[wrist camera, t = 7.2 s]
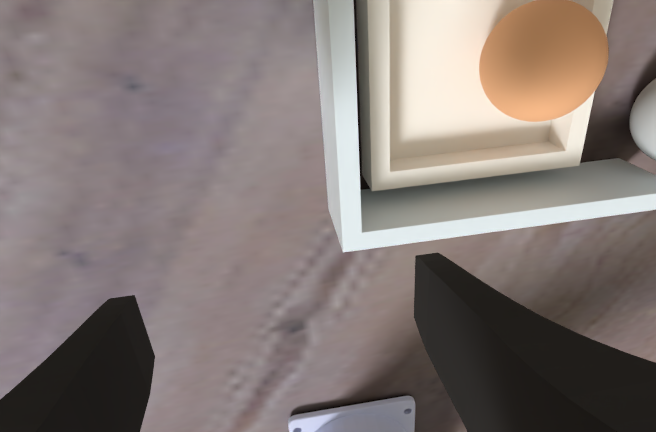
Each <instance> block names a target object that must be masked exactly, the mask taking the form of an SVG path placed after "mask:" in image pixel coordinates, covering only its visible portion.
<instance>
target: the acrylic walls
mask: <svg viewBox="0 0 656 432" xmlns="http://www.w3.org/2000/svg"><path fill="white" fill-rule="evenodd" d="M313 6H314V19H315V33H316V46H317V60H318V73H319V87H320V100H321V114H322V127H323V141H324V154H325V168H326V181H327V195H328V208H329V212H330V215H331V218H332V221H333V224H334V227H335V230H336V233H337V236H338V239H339V242H340V245H341V247H342V250H343V252H350V251H357V250H364V249H372V248H379V247H386V246H393V245H401V244H408V243H415V242H423V241H430V240H437V239H445V238H452V237H459V236H467V235H474V234H481V233H488V232H496V231H503V230H510V229H518V228H525V227H532V226H540V225H547V224H554V223H562V222H569V221H576V220H583V219H591V218H598V217H605V216H613V215H620V214H627V213H635V212H642V211H649V210H656V175H654V174H652V173H650V172H648V171H646V170H643V169H641V168H639V167H637V166H635V165H633V164H631V163H629V162H627V161H624V160H622V159H620V158H615V159H607V160H599V161H591V162H583V163H580V165H579V166H573V167H565V168H557V169H548V170H540V171H532V172H524V173H516V174H508V175H500V176H492V177H484V178H476V179H468V180H460V181H452V182H444V183H436V184H428V185H419V186H411V187H403V188H395V189H387V190H379V191H371V189H364V190H360V167H359V139H358V112H357V84H356V56H355V29H354V1H353V0H313Z"/></svg>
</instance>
